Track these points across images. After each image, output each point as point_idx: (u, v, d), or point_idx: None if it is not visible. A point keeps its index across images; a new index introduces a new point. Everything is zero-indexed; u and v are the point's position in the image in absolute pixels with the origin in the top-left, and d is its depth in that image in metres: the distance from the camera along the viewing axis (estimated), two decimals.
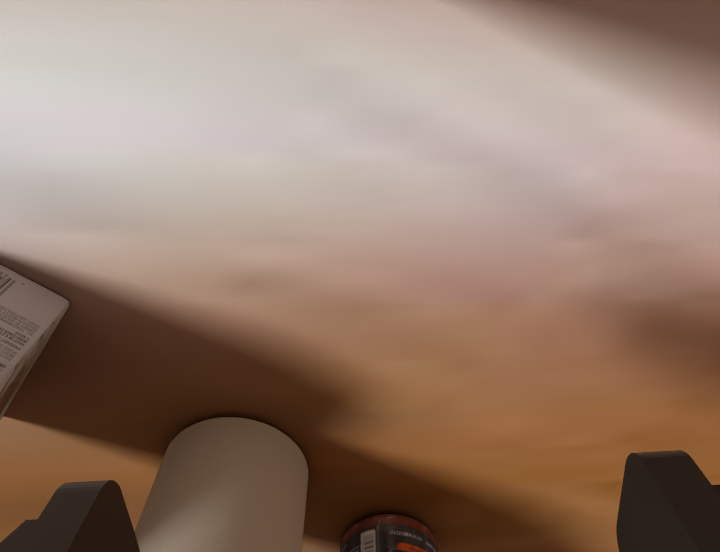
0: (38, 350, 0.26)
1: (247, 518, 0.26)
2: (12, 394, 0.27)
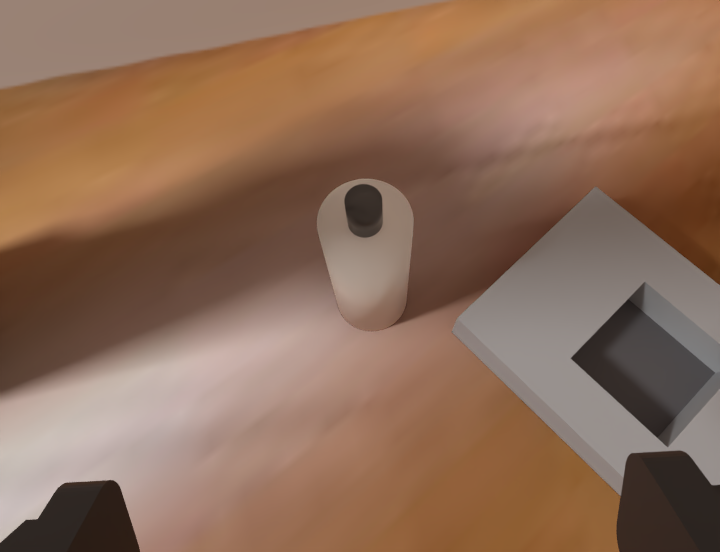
0: None
1: None
2: None
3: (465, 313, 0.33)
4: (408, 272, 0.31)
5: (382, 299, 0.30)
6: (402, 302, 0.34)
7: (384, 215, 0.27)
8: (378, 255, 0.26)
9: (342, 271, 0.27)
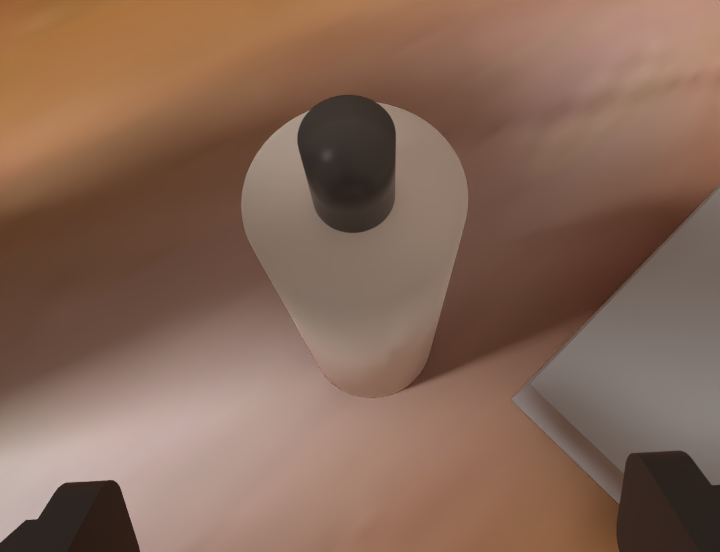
0: None
1: None
2: None
3: (544, 375, 0.18)
4: None
5: (391, 357, 0.15)
6: (427, 353, 0.19)
7: (398, 181, 0.11)
8: (385, 275, 0.11)
9: (303, 310, 0.12)
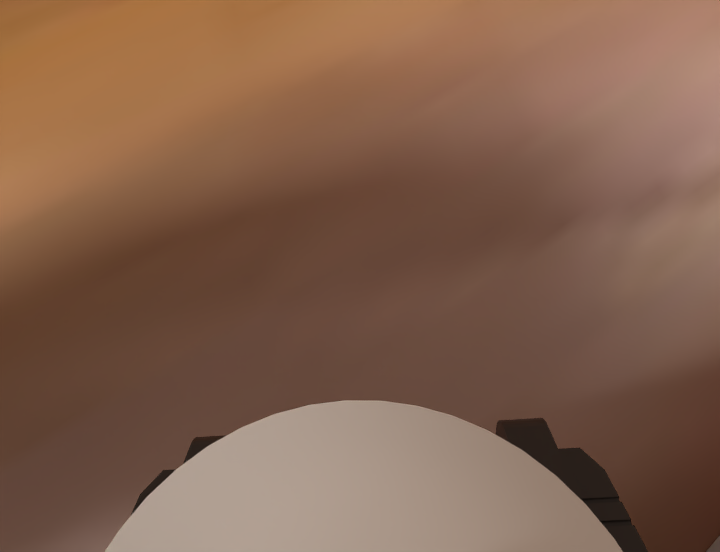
0: None
1: None
2: None
3: None
4: None
5: None
6: None
7: None
8: None
9: None
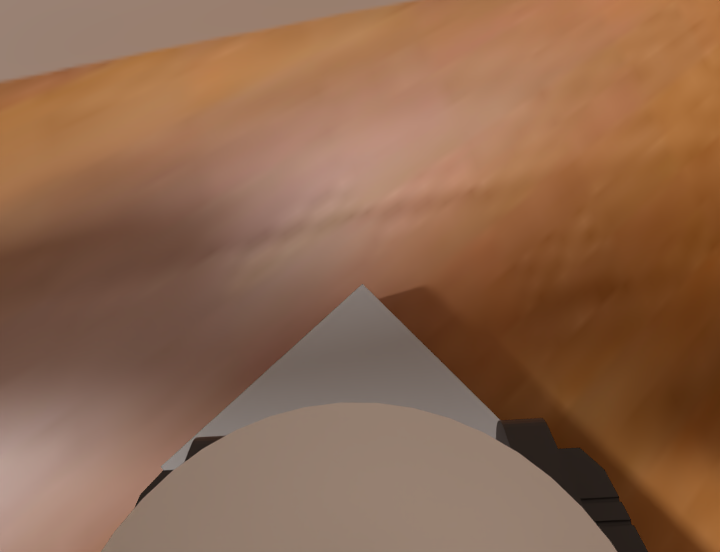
0: None
1: None
2: None
3: (172, 460, 0.25)
4: None
5: None
6: None
7: None
8: None
9: None
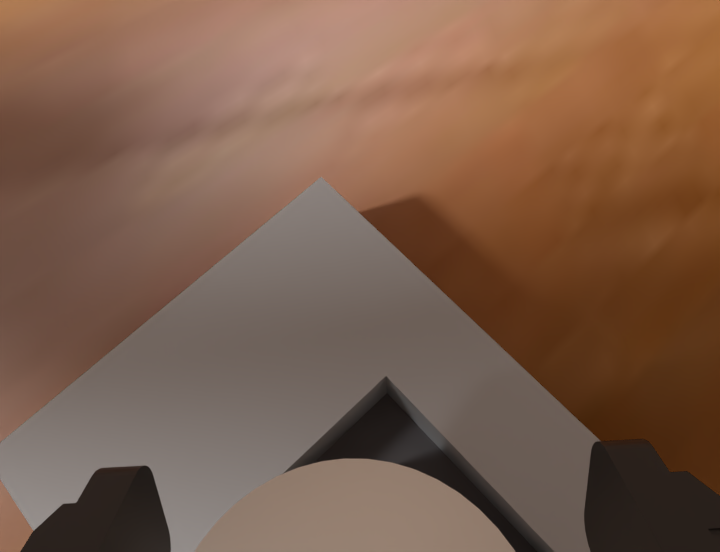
0: None
1: None
2: None
3: (4, 444, 0.16)
4: None
5: None
6: None
7: None
8: None
9: None
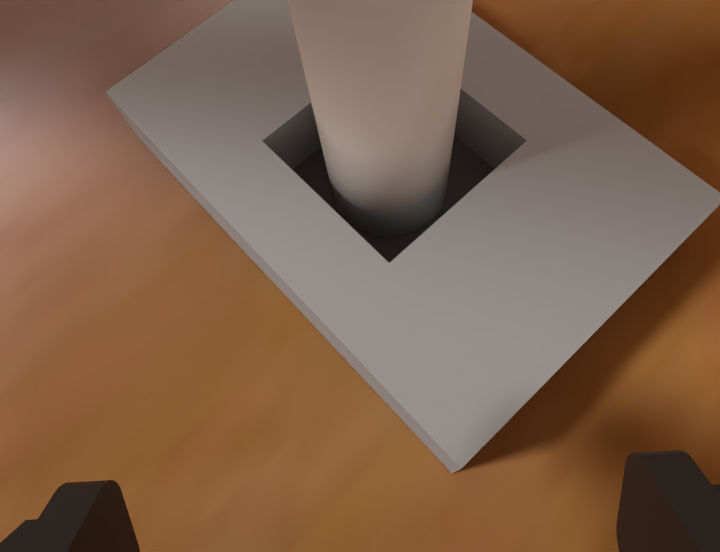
0: None
1: None
2: None
3: (118, 85, 0.22)
4: (458, 96, 0.16)
5: (410, 142, 0.16)
6: (442, 176, 0.20)
7: None
8: None
9: (329, 45, 0.13)
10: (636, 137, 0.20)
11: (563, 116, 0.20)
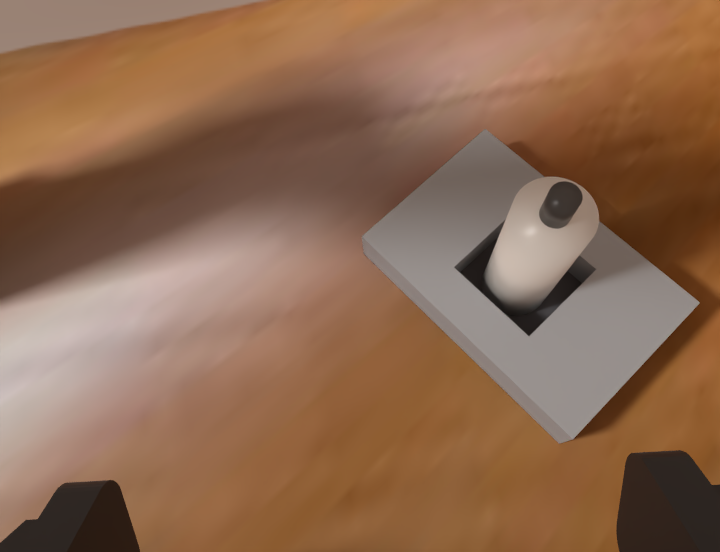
0: None
1: None
2: None
3: (368, 232, 0.39)
4: None
5: (548, 284, 0.34)
6: None
7: None
8: (570, 244, 0.29)
9: (530, 258, 0.31)
10: (653, 268, 0.37)
11: (615, 255, 0.38)
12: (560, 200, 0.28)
